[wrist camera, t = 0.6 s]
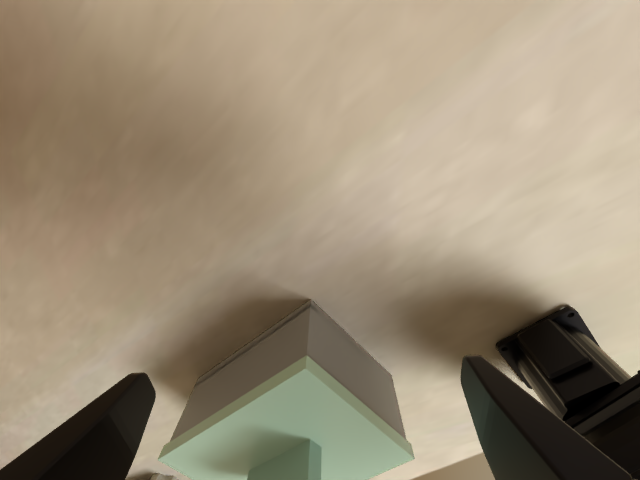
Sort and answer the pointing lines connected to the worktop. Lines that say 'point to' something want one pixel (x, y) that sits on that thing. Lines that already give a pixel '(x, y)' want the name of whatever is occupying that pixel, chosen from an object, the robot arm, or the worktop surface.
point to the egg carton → (162, 477)
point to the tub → (282, 351)
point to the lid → (290, 434)
